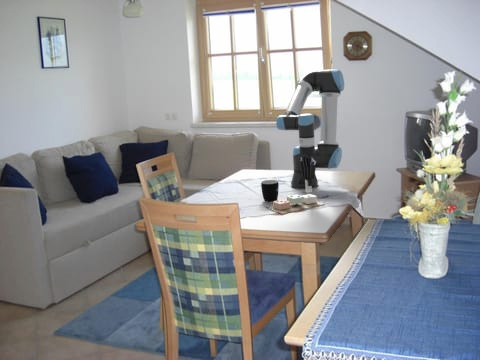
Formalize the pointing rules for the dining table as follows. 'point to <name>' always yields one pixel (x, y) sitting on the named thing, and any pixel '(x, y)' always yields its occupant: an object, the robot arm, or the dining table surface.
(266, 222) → the dining table surface
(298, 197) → the tile
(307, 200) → the tile
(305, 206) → the board
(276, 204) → the pink square block
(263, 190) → the mug
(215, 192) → the dining table surface
